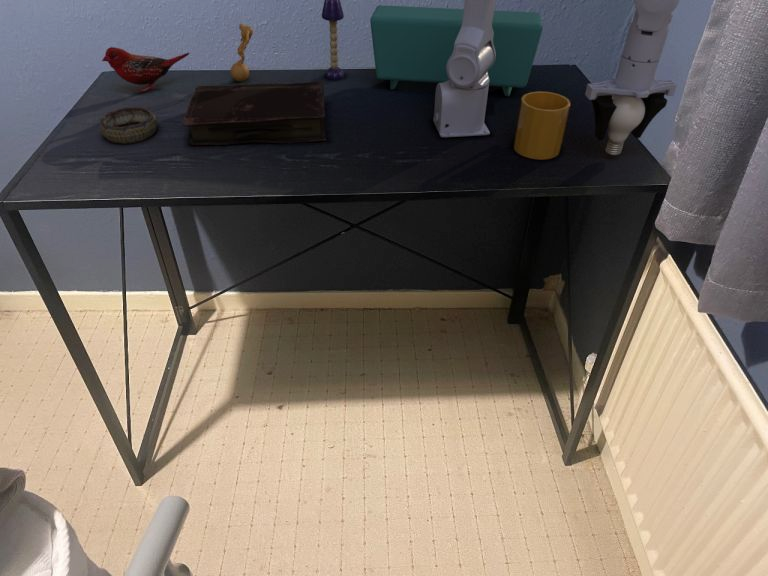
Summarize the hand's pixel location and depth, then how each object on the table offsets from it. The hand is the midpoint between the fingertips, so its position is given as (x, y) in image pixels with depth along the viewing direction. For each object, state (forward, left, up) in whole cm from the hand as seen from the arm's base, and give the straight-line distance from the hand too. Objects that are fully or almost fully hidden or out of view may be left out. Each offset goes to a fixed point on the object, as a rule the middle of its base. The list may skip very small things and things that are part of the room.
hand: (617, 136), depth 99 cm
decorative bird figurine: (-85, +41, -4) cm, 94 cm away
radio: (-21, +35, -4) cm, 41 cm away
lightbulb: (0, 0, -4) cm, 4 cm away
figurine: (-66, +44, -4) cm, 79 cm away
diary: (-62, +21, -4) cm, 66 cm away
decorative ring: (-86, +20, -4) cm, 88 cm away
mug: (-12, +6, -4) cm, 14 cm away
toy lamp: (-46, +44, -4) cm, 64 cm away
